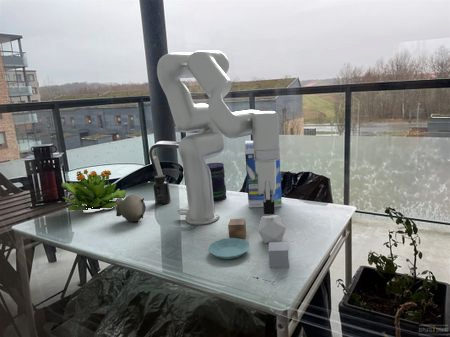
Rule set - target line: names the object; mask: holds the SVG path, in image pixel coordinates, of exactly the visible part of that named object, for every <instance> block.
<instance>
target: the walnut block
mask: <svg viewBox="0 0 450 337" xmlns="http://www.w3.org/2000/svg"><path fill="white" fill-rule="evenodd" d="M227 225H228V238H238V239H242V240H245V239H246V236H247V226H246V218H229V222H228V224H227Z"/></svg>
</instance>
